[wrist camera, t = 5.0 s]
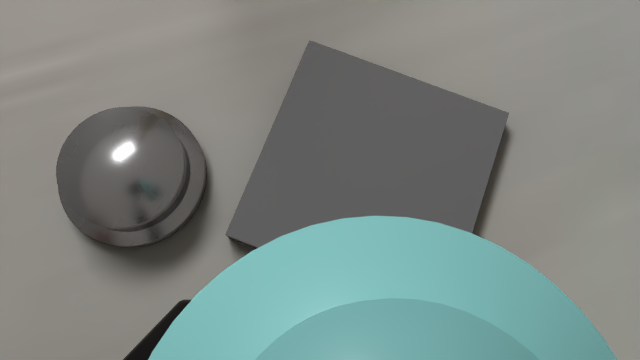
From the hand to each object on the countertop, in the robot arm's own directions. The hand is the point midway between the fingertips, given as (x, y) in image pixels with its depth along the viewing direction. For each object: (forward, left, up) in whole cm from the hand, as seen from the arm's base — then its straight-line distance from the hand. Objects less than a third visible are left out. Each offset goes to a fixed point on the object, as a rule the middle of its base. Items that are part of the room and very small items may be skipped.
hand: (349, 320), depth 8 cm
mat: (0, -6, -13) cm, 15 cm away
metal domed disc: (+10, -2, -13) cm, 17 cm away
